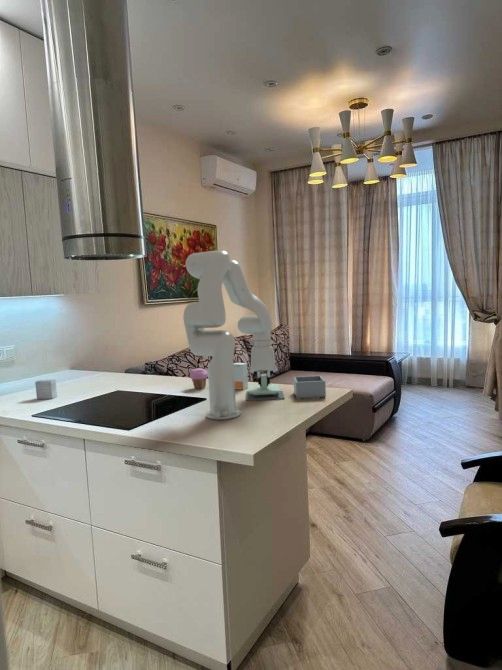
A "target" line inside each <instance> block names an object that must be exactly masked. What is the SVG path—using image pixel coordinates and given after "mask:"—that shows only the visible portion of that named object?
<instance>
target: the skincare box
mask: <svg viewBox="0 0 502 670" xmlns="http://www.w3.org/2000/svg"><path fill="white" fill-rule="evenodd" d="M233 367H234V384H235V390H242V389H244V390H247V389H248V388H249V384H248V383H249V380H248V363H247V362H233ZM246 388H247V389H246Z"/></svg>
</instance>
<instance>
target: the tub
mask: <svg viewBox="0 0 502 670" xmlns="http://www.w3.org/2000/svg"><path fill="white" fill-rule="evenodd" d="M326 391H327V390H326V380H325V379H324V378H323V377H322V375H306V376H305V375H304V376H303V375H302V376H293V393H294V396H295V395H296V396H295V398H296V400H302V399H301V398H311V399H317V398H316V397H326V398H327V395H326V394H327V392H326Z"/></svg>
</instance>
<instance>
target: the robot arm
mask: <svg viewBox="0 0 502 670" xmlns="http://www.w3.org/2000/svg"><path fill="white" fill-rule="evenodd" d="M241 266H242V265H241V264H240V263H239V262H238V261H236V260H234V259H233V260H232V259H231V256H230V254H229V253H228V252H227V251H225V250H209V251H203V252H195V253H191V254H189V255H188V256H187V258H186V259H185V268H186V270H187V272H188V273H189V275H190V276H192V277H193V278H195V279H198V280H199V281H198V284H197V285H198V286H197V296H198V297H197V298H198V301H193V302H190V303H188V304H187V305H186V306H185V308H184V309H183V324H184V329H185V334H186V339H187V345H188V347H189V350H190V352H191V353H192V354H194V355H195V356H200V357H211V360H210V361H209V364H208V366H207V373H208V377H207V380H208V392H209V395H208V396H209V397H208V398H209V410H208V411H207V412H206V413H205V414H206V418H207V419H211V420H217V421H218V420H223V421H224V420H230V419H235V418H237V417H239V416H240V415H241V410H240V409H238V408H237V406H236V389H235V384H234V367H233V364H234V354H235V348H236V340H235V337H234V335H233V334H232V333H231V331H227V330H223V329H214V328H220V327H222V326H224V325H225V323H226V322H227V321H226V320H227V313H226V308H225V303H224V297H223V291H222V286H224V288H225V291H226V293H227V294H228V297H229V299H230V300H229V301H231V302H232V303H233V304H234V305H237V306H239V307H241V308H244V309H247V310H249V311H251V312H252V313H254V314H255V315H244V316H242V317H240V318H239V320H238V321H237V329H238V331H239V332H240V333H242V334H244V335H252V339H253V340H252V341H249V345H250V346H253V347H251V350H250V351H251V353H250V361H251V362H250V367H249V370H248V372H249V373H251V374H253V375H254V376H256V377H257V383H258V384H257V385H260V387H261V372H262V371H264V372H265V371H266V376H267V387H268V385H271V379H270V378H271V377H272V375H274V373H276V372H278V371H279V369H278V366H277V365H276V358H275V351H274V347H273V346H272V342H271V341H272V340H271V338H272V337H271V336H272V335H271V331H272V329H273V319H272V317H271V313H270V311H269V309H268V307H267V304H265V303H264V302H263V301H262V300H261V299H260V298H259V297H258V296H256V295H255V294H254V293H252V292H251V289H250V288H249V287H250V286H249V285H248V282H247V279H246V277H245V275H244V272H243V271H244V270H243V269H242V267H241ZM205 329H206V330H205ZM207 329H208V330H207ZM209 329H211V330H209ZM212 329H213V330H212Z"/></svg>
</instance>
